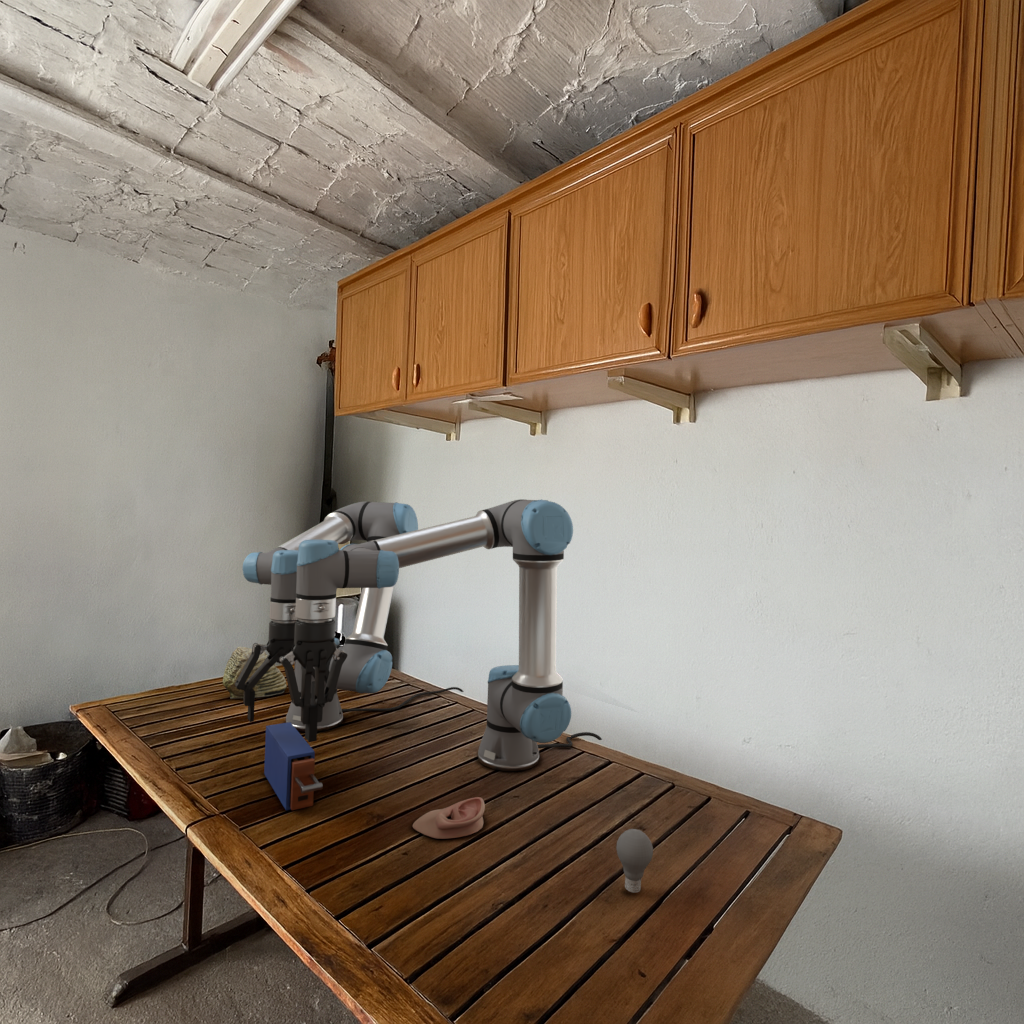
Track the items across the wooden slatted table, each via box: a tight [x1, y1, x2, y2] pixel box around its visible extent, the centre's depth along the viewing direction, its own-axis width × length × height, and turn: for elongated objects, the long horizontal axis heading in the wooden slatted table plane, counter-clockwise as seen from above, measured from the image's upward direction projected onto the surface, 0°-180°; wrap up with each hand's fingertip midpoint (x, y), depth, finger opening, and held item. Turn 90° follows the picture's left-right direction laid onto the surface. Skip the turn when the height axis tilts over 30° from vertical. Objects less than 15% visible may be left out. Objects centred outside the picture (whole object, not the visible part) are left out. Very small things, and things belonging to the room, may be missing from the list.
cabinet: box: [263, 722, 316, 811], centre depth 137 cm, size 19×5×11 cm, turn 34°
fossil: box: [222, 646, 288, 699], centre depth 198 cm, size 9×18×15 cm, turn 132°
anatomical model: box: [412, 796, 486, 840], centre depth 124 cm, size 13×4×12 cm
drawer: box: [290, 756, 323, 811], centre depth 132 cm, size 24×4×9 cm, turn 34°
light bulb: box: [615, 828, 654, 894], centre depth 106 cm, size 6×6×10 cm
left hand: (283, 715), depth 141 cm, fingers open, 13 cm apart
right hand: (310, 739), depth 124 cm, fingers closed
